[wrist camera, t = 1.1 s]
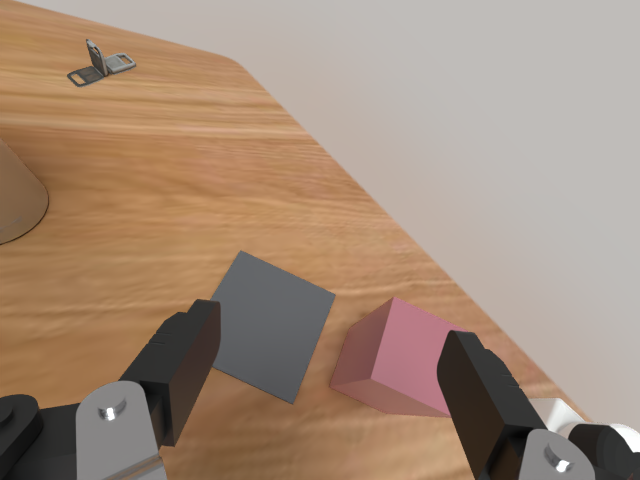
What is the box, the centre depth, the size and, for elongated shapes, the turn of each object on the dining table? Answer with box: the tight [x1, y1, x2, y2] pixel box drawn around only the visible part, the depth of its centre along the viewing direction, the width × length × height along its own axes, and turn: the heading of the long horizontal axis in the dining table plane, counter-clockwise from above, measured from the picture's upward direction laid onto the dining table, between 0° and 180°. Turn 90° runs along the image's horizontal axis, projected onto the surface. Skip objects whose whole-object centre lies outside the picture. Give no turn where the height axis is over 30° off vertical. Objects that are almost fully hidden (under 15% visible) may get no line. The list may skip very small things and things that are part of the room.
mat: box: [210, 250, 335, 404], centre depth 34 cm, size 12×12×1 cm
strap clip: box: [67, 39, 136, 87], centre depth 43 cm, size 8×3×4 cm, turn 138°
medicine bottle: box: [528, 398, 640, 479], centre depth 28 cm, size 7×7×12 cm
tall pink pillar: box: [329, 297, 468, 418], centre depth 29 cm, size 6×6×12 cm
